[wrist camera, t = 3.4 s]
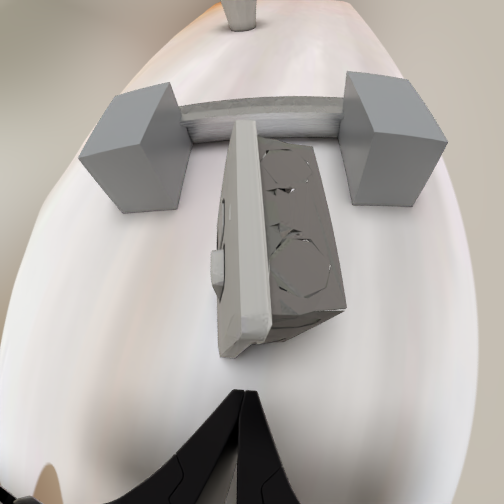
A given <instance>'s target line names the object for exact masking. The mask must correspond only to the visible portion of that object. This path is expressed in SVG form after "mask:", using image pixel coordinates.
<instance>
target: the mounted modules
mask: <svg viewBox="0 0 504 504" xmlns="http://www.w3.org/2000/svg"><path fill="white" fill-rule="evenodd" d="M343 110H344V113H345V115H344V120H343V119H341V121H340V128H339V135H338V141H339V145H340V149H341V153H342V157H343V161H344V166H345V170H346V175H347V179H348V184H349V189H350V194H351V199H352V205H382V206H409V207H412V206H413V204H414V203H415V201H416V199H417V198H418V196H419V194H420V193H421V191H422V189H423V188H424V186H425V184H426V182H427V181H428V179H429V177H430V175H431V174H432V172H433V170H434V168H435V166H436V164H437V163H438V161H439V159H440V157H441V155H442V153H443V151H444V149H445V147H446V145H447V143H448V141H447V139H446V137H445V136H444V134H443V132H442V130H441V129H440V127H439V125H438V124H437V122H436V121H435V119H434V117H433V115H432V114H431V112H430V111H429V109H428V108H427V106H426V105H425V103H424V102H423V100H422V99H421V97H420V96H419V94H418V93H417V92H416V90H415V89H414V87H413V86H412V85H411V83H410V82H409V80H407V79H401V78H396V77H390V76H384V75H377V74H369V73H361V72H351V71H347V74H346V83H345V91H344V99H343ZM181 116H182V115H181V112H180V109H179V107H178V104H177V101H176V98H175V95H174V93H173V90H172V87H171V84H170V82H167V83H163V84H158V85H154V86H150V87H146V88H142V89H138V90H134V91H131V92H127V93H124V94H121V95H117V96H115V97H114V99H113V100H112V102H111V103H110V105H109V106H108V108H107V109H106V111H105V112H104V114H103V115H102V117H101V118H100V120H99V122H98V123H97V125H96V127H95V128H94V130H93V132H92V134H91V135H90V137H89V139H88V141H87V142H86V144H85V146H84V148H83V150H82V152H81V153H80V155H79V157H78V159H79V160H80V161H81V163H82V164H83V165H84V167H85V168H86V169H87V170H88V172H89V173H90V174H91V175H92V177H93V178H94V179H95V180H96V182H97V183H98V184H99V185H100V187H101V188H102V189H103V190H104V192H105V193H106V194H107V195H108V196H109V198H110V199H111V200H112V201H113V202H114V204H115V205H116V206H117V207H118V208H119V209H120V211H121V212H122V213H133V212H145V211H158V210H172V209H177V207H178V202H179V198H180V193H181V189H182V184H183V180H184V176H185V172H186V167H187V163H188V159H189V155H190V151H191V148H192V142H191V139H190V137H189V134H188V131H187V128H186V127H181V125H180V122H179V121H180V119H181Z"/></svg>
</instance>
